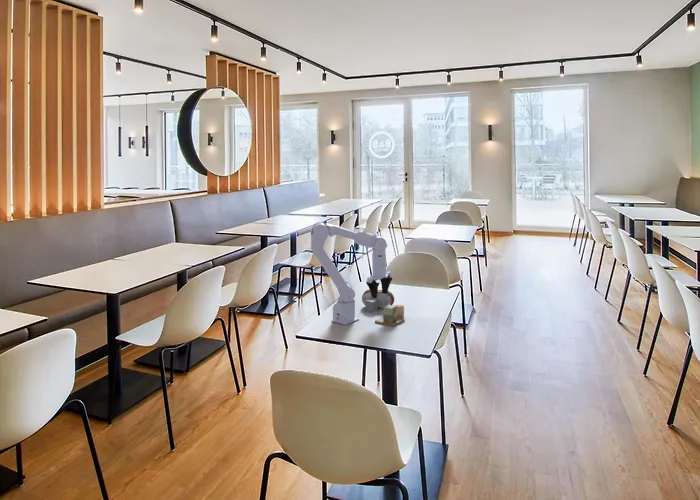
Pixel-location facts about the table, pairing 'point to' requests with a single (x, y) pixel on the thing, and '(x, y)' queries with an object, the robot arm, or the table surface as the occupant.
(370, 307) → the grey block
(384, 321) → the walnut board
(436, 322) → the table surface
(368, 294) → the tin
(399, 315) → the peach rounded capsule
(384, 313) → the green block
